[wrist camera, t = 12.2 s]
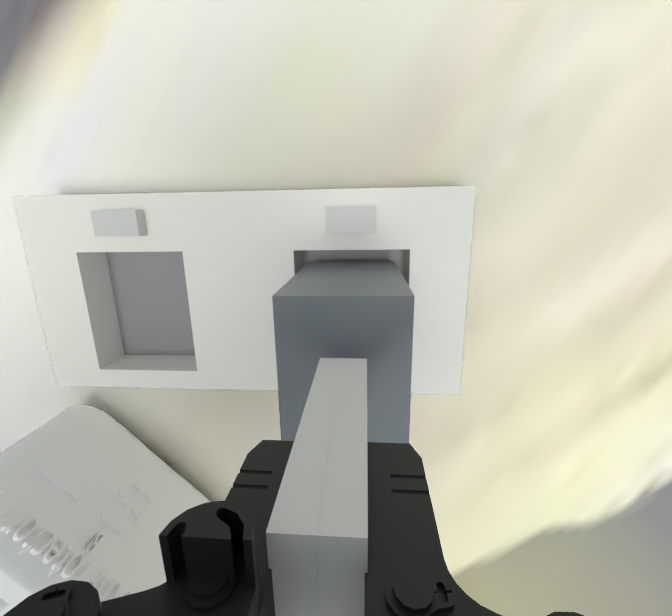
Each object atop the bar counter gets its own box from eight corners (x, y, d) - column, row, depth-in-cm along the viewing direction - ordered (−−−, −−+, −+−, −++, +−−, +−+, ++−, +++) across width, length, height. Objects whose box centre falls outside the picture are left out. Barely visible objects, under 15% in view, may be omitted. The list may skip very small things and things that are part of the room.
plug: (315, 347, 25) (281, 442, 15) (312, 258, 23) (272, 295, 13) (390, 348, 24) (408, 446, 14) (392, 257, 23) (414, 296, 13)
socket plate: (94, 364, 27) (46, 391, 23) (60, 198, 24) (-2, 195, 20) (446, 370, 25) (463, 401, 21) (459, 189, 22) (480, 184, 18)
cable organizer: (25, 463, 31) (-171, 610, 19) (96, 386, 28) (-82, 504, 17) (161, 572, 33) (54, 762, 21) (238, 510, 30) (164, 688, 19)
